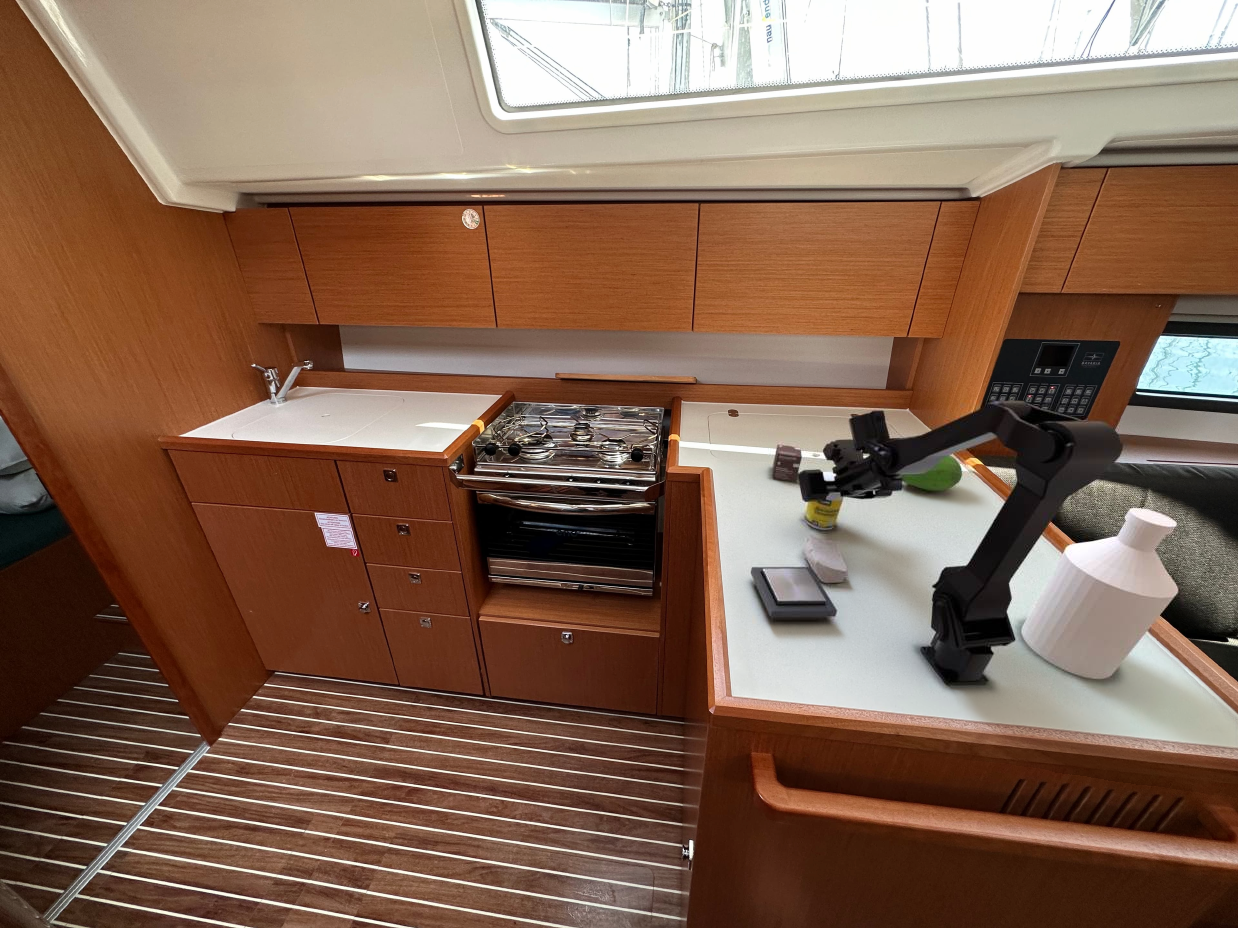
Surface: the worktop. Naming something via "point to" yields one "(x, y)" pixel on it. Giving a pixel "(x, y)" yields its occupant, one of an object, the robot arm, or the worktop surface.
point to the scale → (792, 611)
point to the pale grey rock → (825, 559)
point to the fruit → (937, 476)
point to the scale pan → (793, 587)
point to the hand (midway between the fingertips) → (823, 494)
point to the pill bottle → (824, 509)
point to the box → (786, 463)
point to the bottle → (1103, 598)
